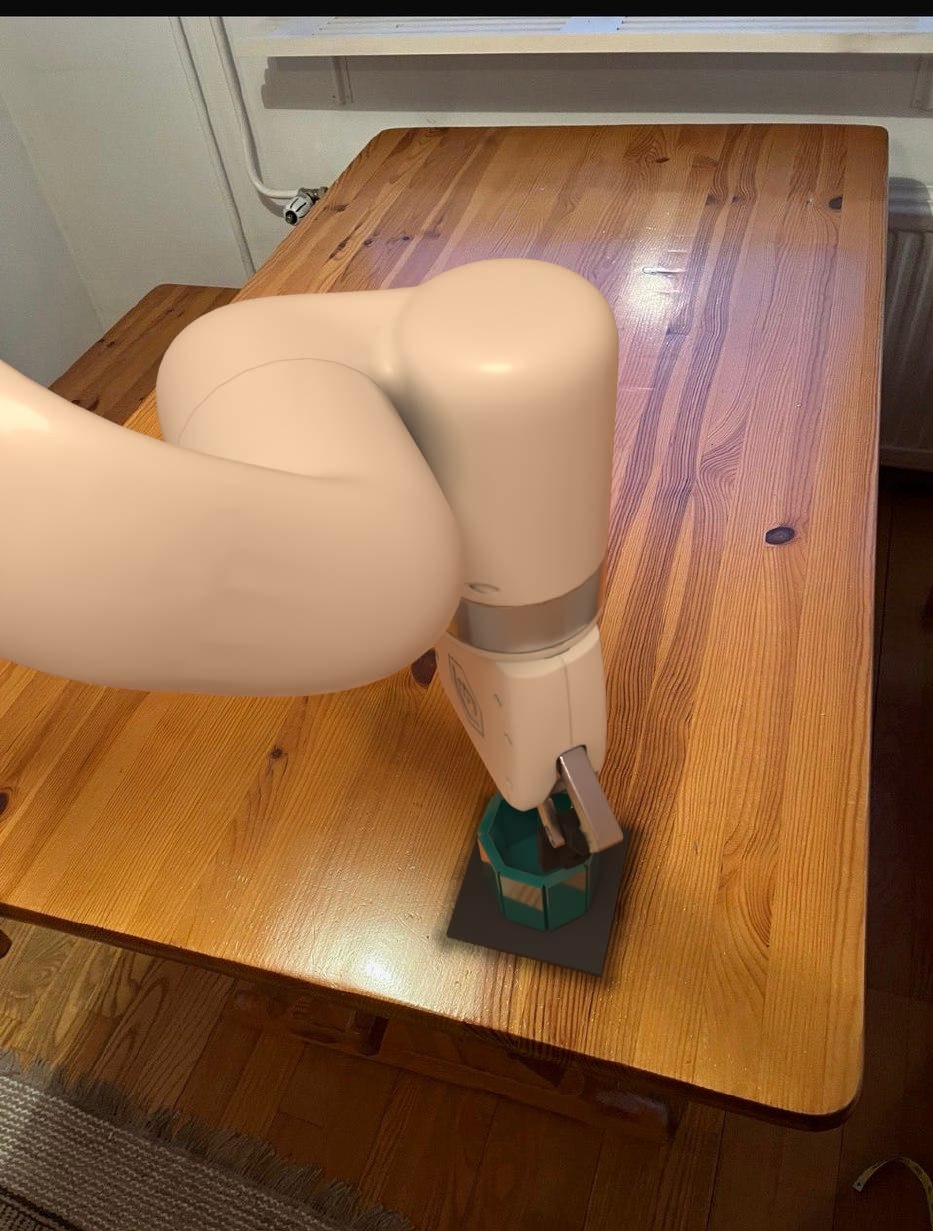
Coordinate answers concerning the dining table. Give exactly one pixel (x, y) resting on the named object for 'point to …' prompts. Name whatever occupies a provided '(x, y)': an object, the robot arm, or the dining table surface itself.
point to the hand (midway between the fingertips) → (525, 783)
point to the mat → (562, 946)
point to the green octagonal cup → (531, 868)
